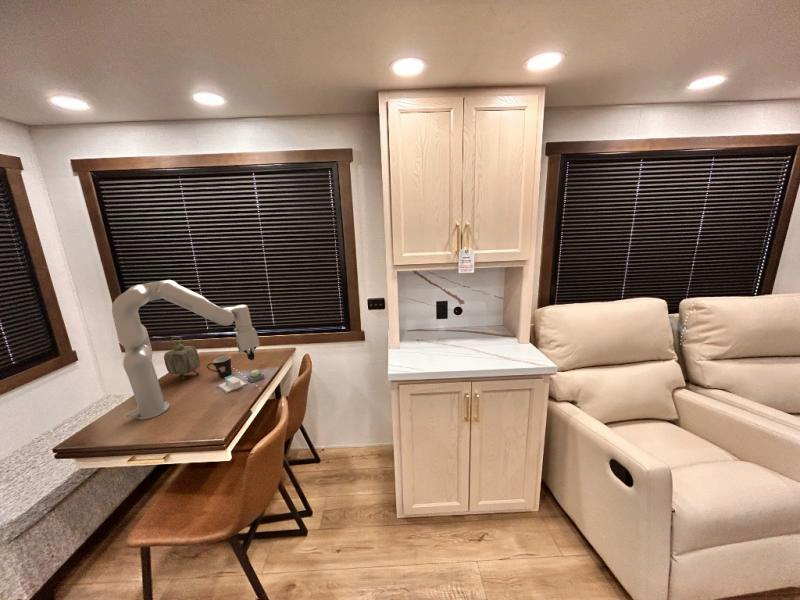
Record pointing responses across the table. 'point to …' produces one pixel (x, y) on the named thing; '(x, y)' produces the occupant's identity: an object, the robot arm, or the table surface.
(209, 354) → the table surface
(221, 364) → the coffee mug
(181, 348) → the olive green backpack
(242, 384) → the cream flat slab
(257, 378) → the button housing
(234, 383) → the white and teal box
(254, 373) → the button
